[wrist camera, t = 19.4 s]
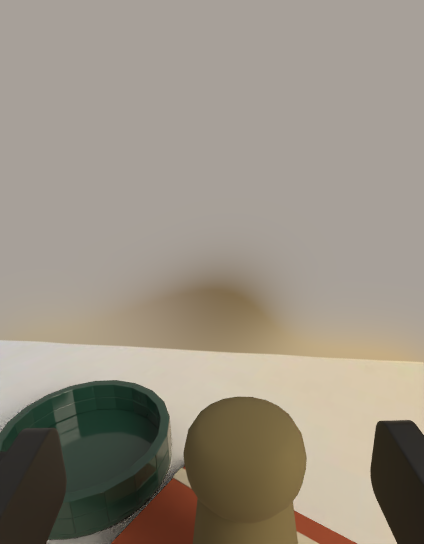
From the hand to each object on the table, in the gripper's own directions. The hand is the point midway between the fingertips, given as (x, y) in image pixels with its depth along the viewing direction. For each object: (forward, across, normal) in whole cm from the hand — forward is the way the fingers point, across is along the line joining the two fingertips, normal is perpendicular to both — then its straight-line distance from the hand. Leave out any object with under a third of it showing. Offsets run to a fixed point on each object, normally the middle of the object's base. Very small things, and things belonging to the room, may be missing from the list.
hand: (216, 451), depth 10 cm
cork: (+5, -1, +15) cm, 16 cm away
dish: (+16, +10, +16) cm, 24 cm away
